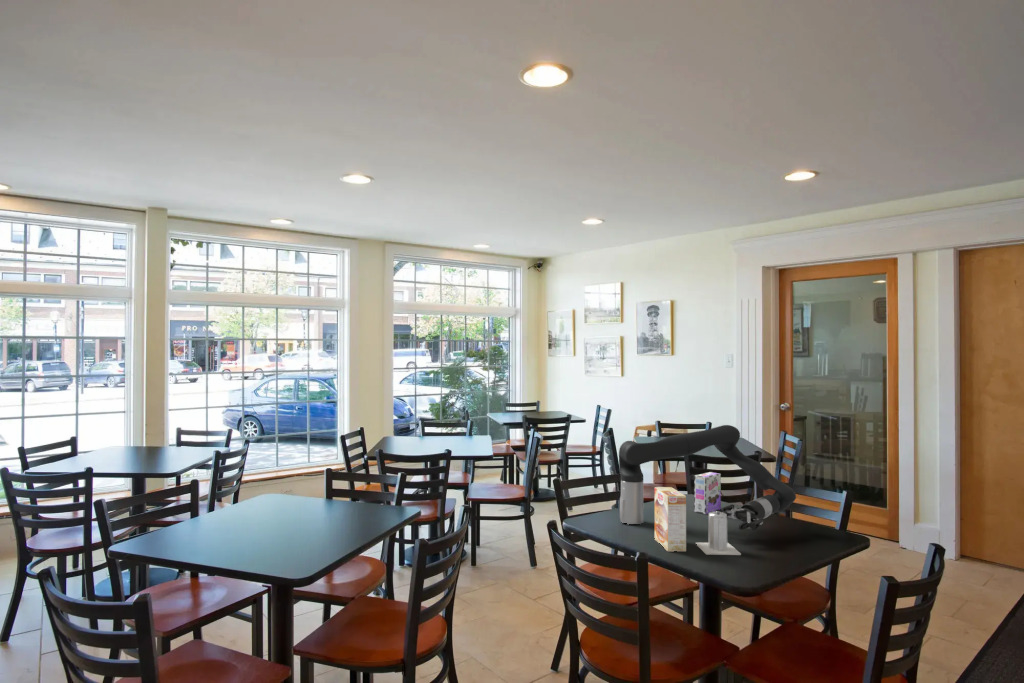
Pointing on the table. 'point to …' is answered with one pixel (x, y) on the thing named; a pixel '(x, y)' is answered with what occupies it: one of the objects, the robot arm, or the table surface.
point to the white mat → (708, 551)
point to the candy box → (707, 492)
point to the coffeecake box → (670, 519)
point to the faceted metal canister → (717, 531)
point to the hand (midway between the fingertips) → (729, 522)
